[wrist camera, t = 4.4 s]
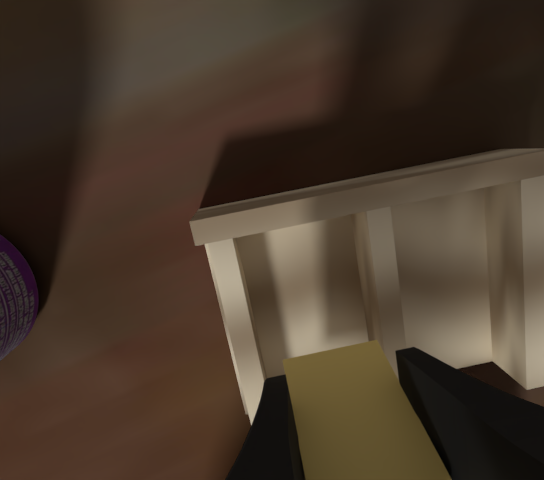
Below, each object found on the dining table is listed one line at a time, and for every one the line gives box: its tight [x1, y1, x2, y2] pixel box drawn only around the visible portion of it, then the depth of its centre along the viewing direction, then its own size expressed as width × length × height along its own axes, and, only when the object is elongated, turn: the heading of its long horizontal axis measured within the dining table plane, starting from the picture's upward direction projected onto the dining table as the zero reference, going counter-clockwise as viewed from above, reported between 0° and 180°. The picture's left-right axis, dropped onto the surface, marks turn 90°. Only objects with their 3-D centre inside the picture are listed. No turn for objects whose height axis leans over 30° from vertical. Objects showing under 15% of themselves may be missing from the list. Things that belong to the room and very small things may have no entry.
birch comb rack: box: [190, 148, 544, 425], centre depth 18 cm, size 11×15×3 cm
